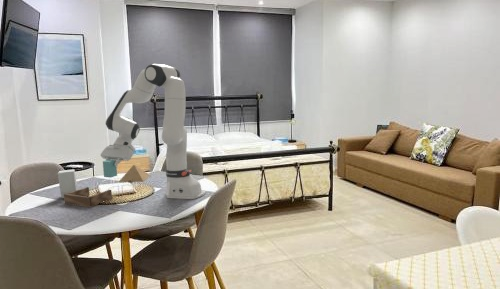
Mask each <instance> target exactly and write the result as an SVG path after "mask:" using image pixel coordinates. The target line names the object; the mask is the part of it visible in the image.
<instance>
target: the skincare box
mask: <svg viewBox="0 0 500 289" xmlns="http://www.w3.org/2000/svg"><path fill="white" fill-rule="evenodd" d="M57 178H58V184H59V191H60V197H61V199H64V194H67V193H70V192H73V191H76V190H79V189H78V183H77V177H76V171H75V169H73V168H72V169H67V170H66V169H65V170H59V171H58V172H57Z"/></svg>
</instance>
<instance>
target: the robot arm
mask: <svg viewBox="0 0 500 289" xmlns="http://www.w3.org/2000/svg"><path fill="white" fill-rule="evenodd" d="M134 82H135V83H134V85H133V87H131V89H128V90H126V91H124V92H123V94H122V95H121V97H119V99H118V102H117V103H116V105H115V107H114V108H113V109H112V111H111V112H110V114H109V115H108V117H107V118H106V121H105V125H106V128H107V129H108V130H110V131H112V132H116V133H117V134H119V135H118V136H117V138H116V139H115V141H114V142H113V144H109V145H107V146H106V147H105V148H104V149H103V150H102V151H101V153H100V157H101V158H102V159H104V160H105V161H106V160H116V162H114V163H113V165H114V166H118V165H119V164H120V163H121V162H122V161H125V162H129V161H131V159H132V158H133V156H134V152H135V151H136V148H135V146H134V145H133V144H132V143H133V141H134V140H135V139H137V136H138V134H140V130H141V129H140V125H139V124H138V123H137V122H136V121H134V120H131V119H130V118H127V117H125V116H122V115H121V113H122V111H123V110H124V109H125V107H126V105H127V104H132V103H133V104H144V103H147V102H149V101H150V100H151V98H152V97H153V94H154V93H155V90H156V87H158V88H159V87H163V89H164V113H163V114H164V116H163V123H162V133H161V140H162V141H163V143H164V144H165V145H166V153H165V162H166V163H165V164H166V170H165V176H166V189H165V197H166V198H167V199H178V200H179V199H180V200H195V199H198V198H201V197H203V196H204V195H206V190H203V189H202V186H201V183H200V181H198V180H197V179H196V178H194V176H192V175H191V172H192V169H189V168H188V161H187V160H188V159H187V146H188V137H187V136H188V131H187V128H186V126H185V117H186V109H187V108H186V107H187V106H186V102H187V101H186V98H187V97H186V95H187V94H186V86H185V82H184V80H183V79H181V73H180V71H179V69H178V68H176V67H175V66H172V65H167V64H161V63H152V64H149V65H147V66H146V67H145V68H144V69H142V70H141V71H140V73H139V74H138V76H137V78H136V80H135V81H134Z"/></svg>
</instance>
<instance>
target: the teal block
mask: <svg viewBox="0 0 500 289" xmlns="http://www.w3.org/2000/svg"><path fill="white" fill-rule="evenodd" d="M116 161H117V160H111V159H110V160H106V159H105V160H103V161H102V168H103V170H102V171H103V177H104V178H109V179H110V178H114V177H116V176H117V177H118V170H117V169H118V167H117V166H118V165H117V166H114V165H113V163H114V162H116Z"/></svg>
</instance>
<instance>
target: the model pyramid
mask: <svg viewBox="0 0 500 289" xmlns="http://www.w3.org/2000/svg"><path fill="white" fill-rule="evenodd" d="M149 177H151V174H149V173H148V172H146V171H145V170H143V169H141V167H138V166H137V165H136V164H133V165H132V166H130V168H129V170H128V171H127V172H125V174H124V175H123V176H122V178H120V180H119V181H118V183H134V182H135V183H136V182H137V183H138V182H145V181H146V179H149Z"/></svg>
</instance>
